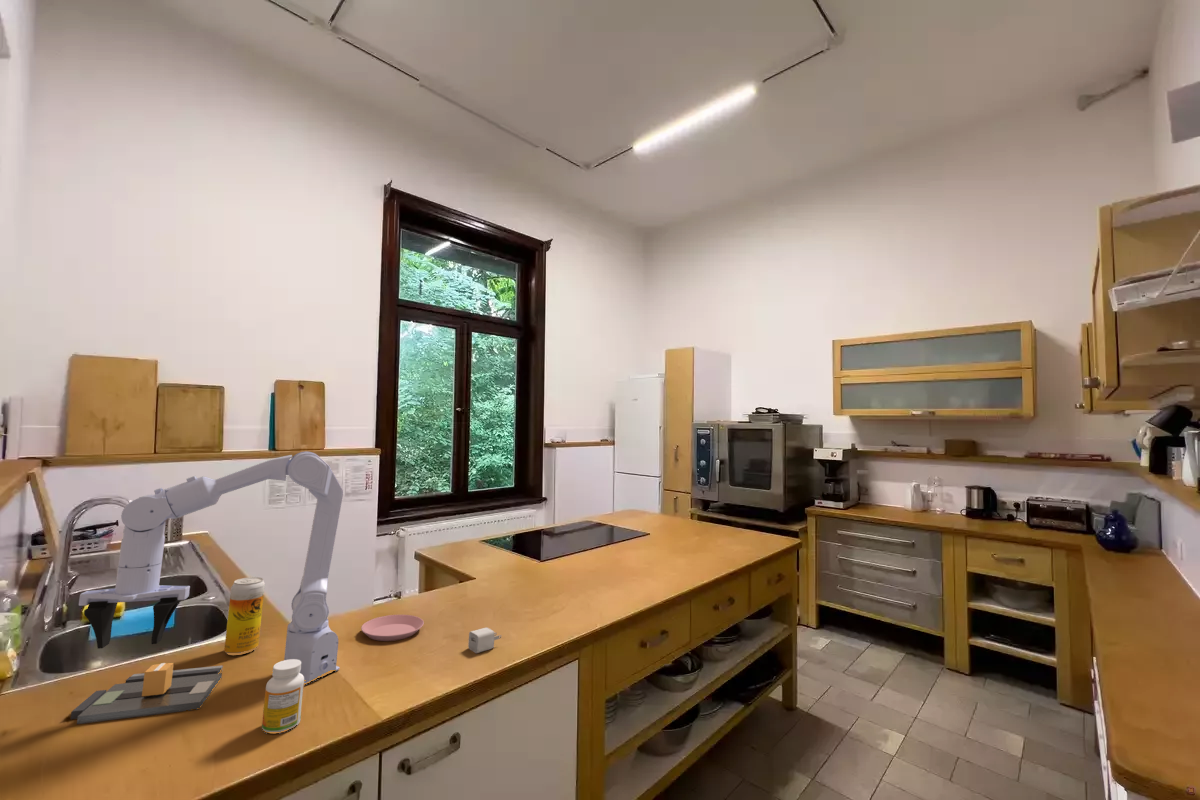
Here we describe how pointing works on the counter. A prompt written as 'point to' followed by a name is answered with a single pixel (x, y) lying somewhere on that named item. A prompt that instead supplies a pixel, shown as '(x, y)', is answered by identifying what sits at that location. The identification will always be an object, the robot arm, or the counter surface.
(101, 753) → the counter surface
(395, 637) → the plate
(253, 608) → the beer can
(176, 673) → the flat board
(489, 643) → the usb wall charger
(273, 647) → the counter surface
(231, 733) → the counter surface
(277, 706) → the supplement bottle
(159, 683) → the cardboard box
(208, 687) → the panel
